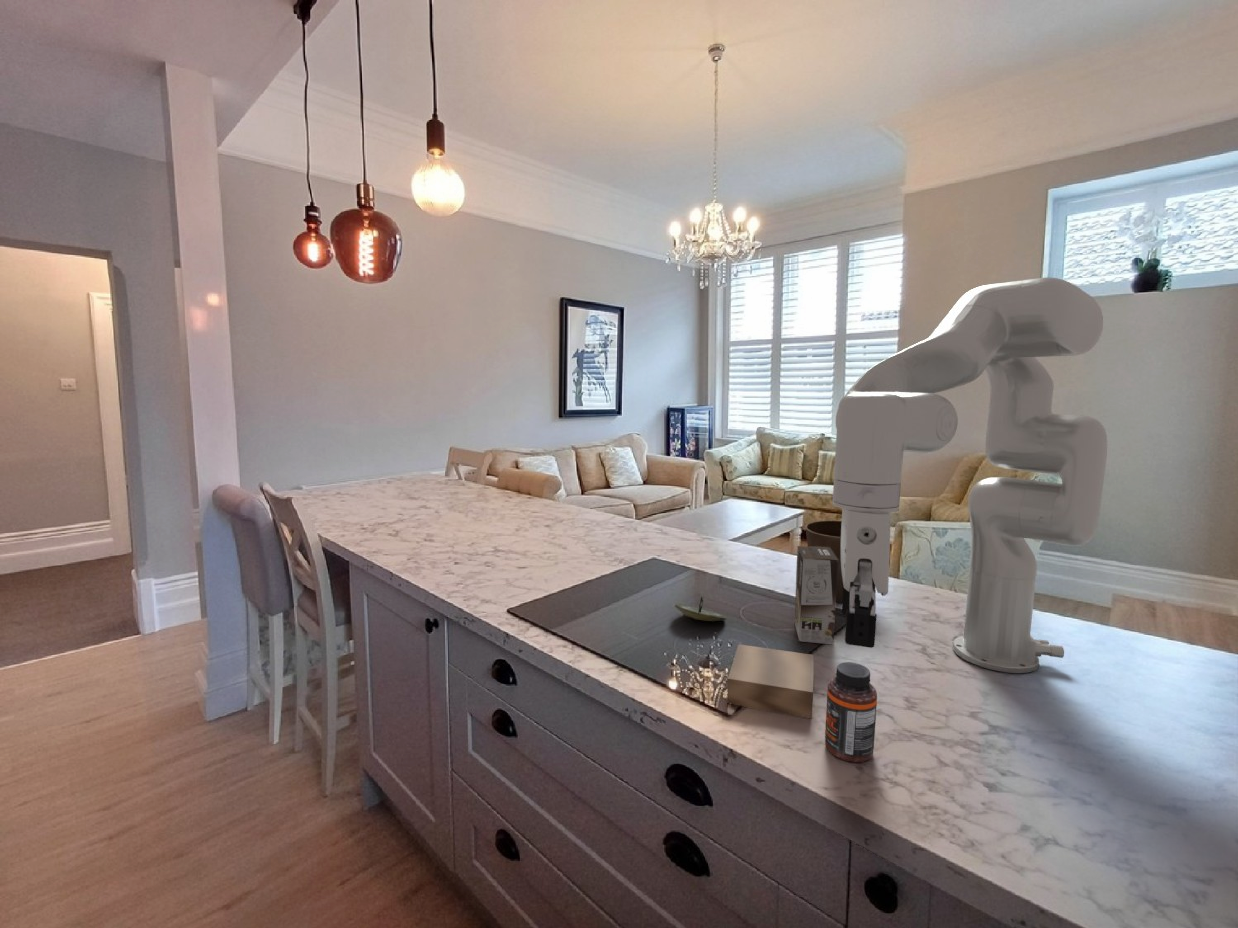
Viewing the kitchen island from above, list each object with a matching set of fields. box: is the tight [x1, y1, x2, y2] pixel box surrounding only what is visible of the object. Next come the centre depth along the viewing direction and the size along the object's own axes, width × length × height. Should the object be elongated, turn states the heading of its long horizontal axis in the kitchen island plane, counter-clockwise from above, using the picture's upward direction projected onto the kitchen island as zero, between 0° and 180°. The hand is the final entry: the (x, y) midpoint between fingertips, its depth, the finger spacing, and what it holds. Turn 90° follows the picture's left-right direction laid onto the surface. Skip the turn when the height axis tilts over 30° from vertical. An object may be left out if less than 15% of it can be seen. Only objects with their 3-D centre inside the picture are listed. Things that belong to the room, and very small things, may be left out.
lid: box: [674, 596, 727, 622], centre depth 115 cm, size 11×10×5 cm
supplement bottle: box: [824, 661, 878, 763], centre depth 74 cm, size 6×6×11 cm
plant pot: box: [805, 520, 843, 605], centre depth 127 cm, size 15×15×16 cm
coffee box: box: [794, 545, 838, 645], centre depth 109 cm, size 9×6×16 cm
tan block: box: [726, 644, 814, 719], centre depth 89 cm, size 12×12×4 cm
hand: (856, 629), depth 72 cm, fingers open, 9 cm apart
